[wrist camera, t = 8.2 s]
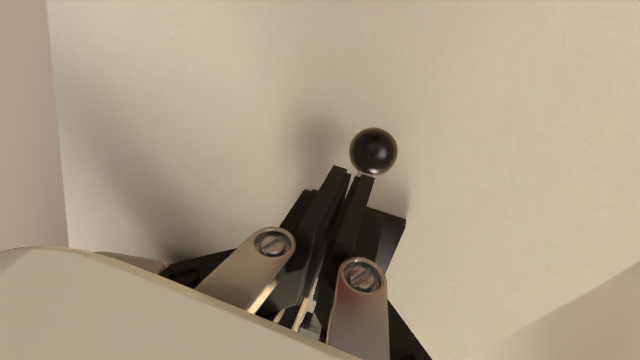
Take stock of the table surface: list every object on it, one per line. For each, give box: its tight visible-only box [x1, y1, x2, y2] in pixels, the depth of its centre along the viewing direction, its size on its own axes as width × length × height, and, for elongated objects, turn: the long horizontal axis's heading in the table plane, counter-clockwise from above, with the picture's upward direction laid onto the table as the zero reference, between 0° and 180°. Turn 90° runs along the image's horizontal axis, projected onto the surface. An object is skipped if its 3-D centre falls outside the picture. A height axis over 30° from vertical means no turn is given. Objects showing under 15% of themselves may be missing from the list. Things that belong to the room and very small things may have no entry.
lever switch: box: [277, 189, 406, 332], centre depth 25 cm, size 10×9×13 cm
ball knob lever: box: [298, 128, 398, 341], centre depth 21 cm, size 17×3×3 cm, turn 169°
